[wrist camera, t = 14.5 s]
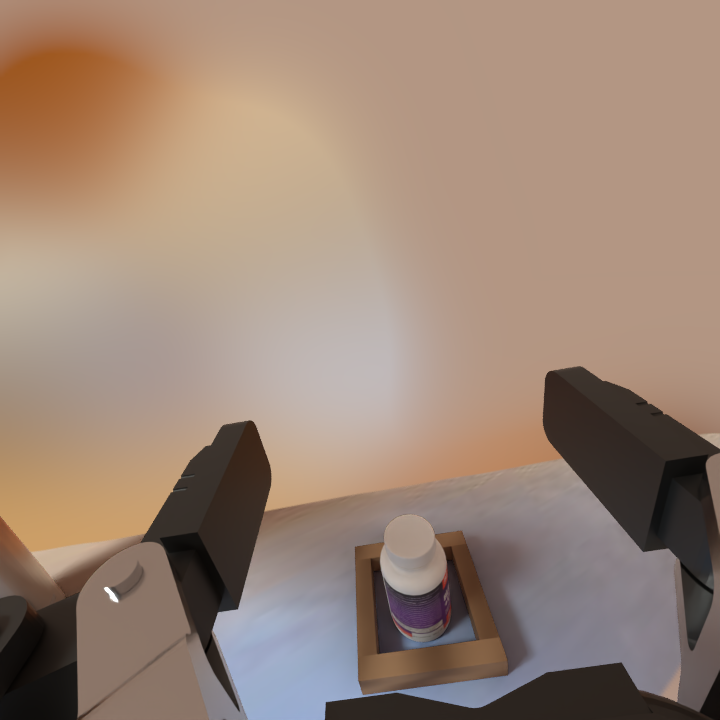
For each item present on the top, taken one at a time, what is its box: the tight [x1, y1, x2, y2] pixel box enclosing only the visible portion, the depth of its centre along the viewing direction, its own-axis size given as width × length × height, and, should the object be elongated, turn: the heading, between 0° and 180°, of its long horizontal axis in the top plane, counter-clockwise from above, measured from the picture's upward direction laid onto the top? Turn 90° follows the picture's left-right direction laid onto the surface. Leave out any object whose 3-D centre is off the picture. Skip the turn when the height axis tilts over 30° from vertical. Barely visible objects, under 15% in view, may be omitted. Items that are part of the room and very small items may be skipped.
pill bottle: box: [380, 514, 451, 642], centre depth 29 cm, size 5×5×10 cm
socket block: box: [355, 531, 508, 695], centre depth 31 cm, size 11×11×2 cm
